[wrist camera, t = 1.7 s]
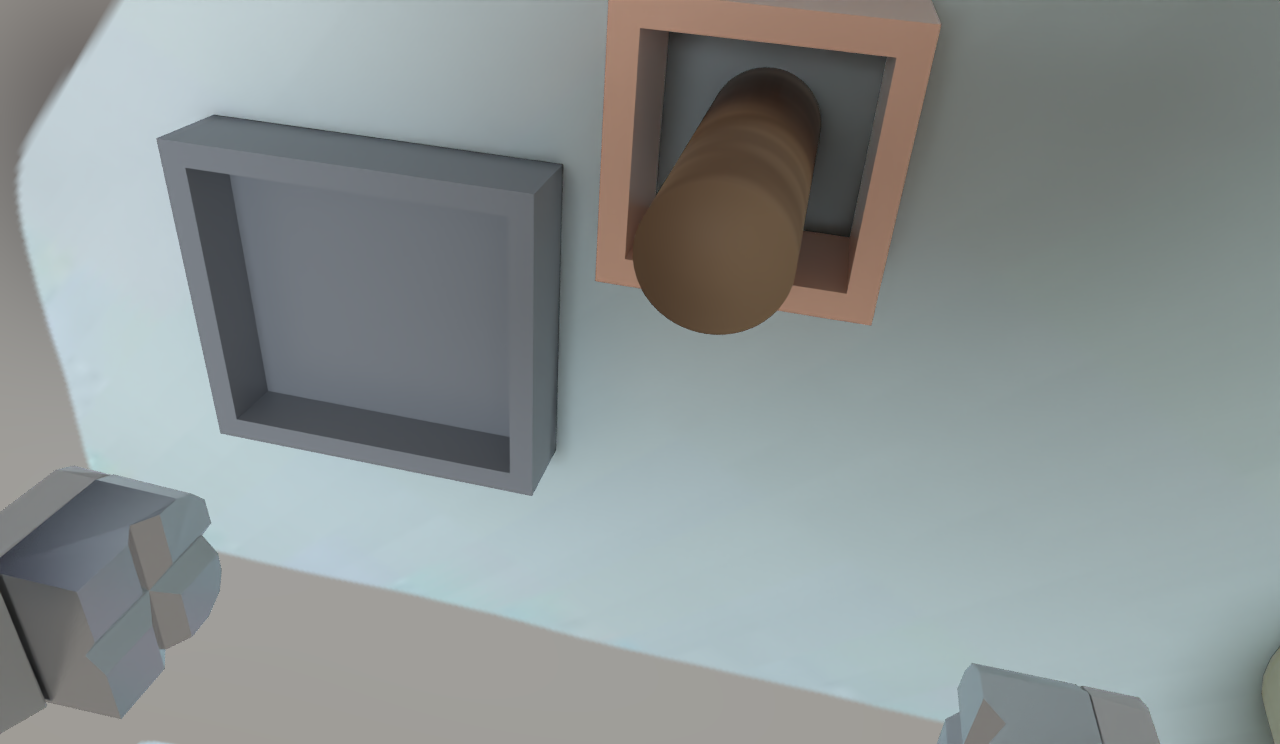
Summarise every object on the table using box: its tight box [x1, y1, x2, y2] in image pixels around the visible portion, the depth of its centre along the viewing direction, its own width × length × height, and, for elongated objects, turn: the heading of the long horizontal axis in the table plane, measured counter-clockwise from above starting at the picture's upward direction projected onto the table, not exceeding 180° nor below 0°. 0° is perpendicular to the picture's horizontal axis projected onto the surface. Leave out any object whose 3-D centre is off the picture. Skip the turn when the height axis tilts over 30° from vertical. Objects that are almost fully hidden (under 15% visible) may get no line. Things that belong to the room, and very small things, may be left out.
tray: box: [156, 115, 563, 496], centre depth 30 cm, size 12×11×3 cm
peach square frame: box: [595, 0, 941, 325], centre depth 24 cm, size 8×8×4 cm
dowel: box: [633, 67, 821, 335], centre depth 21 cm, size 3×3×10 cm
